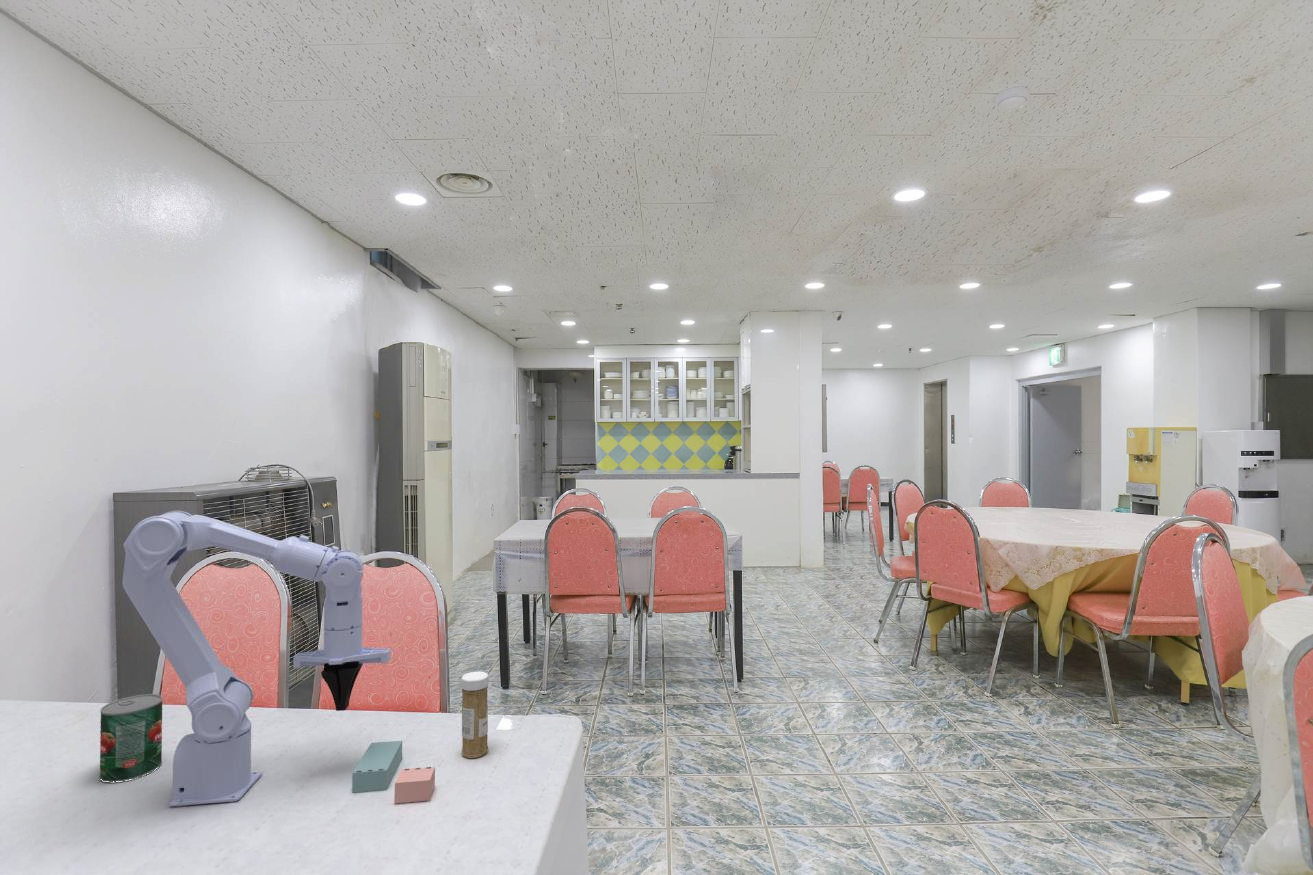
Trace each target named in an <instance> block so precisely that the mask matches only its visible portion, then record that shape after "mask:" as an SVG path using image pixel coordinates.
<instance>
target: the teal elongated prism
mask: <svg viewBox="0 0 1313 875" xmlns="http://www.w3.org/2000/svg"><path fill="white" fill-rule="evenodd" d="M402 760H403V740H395V741H393V740H392V741H391V740H390V741H379V742H378V741H377V742H371V743H370V744H369V746H368V748H367V749H366V750H365V752H364V754H363V755H362V757H361V759H360V761H358V764H357V765H356V767H355V768H354V769H353V771H352V774H351V776H352V779H351V780H352V781H351V782H352V785H351V786H352V787H351V791H352V793H363V792H364V793H365V792H366V793H368V792H376V791H377V792H378V791H387V790H388V788H389V786H390V784H391V782H392V779H393V778H394V776H395V774H396V771H397V770H398V768H399V766H400V764H401V761H402Z"/></svg>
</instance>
